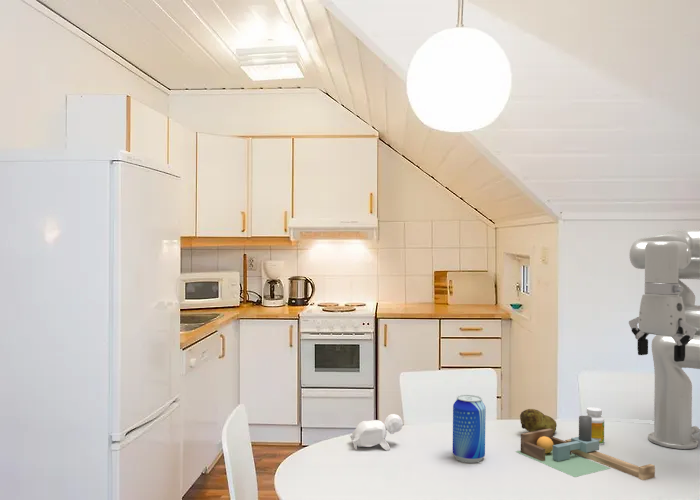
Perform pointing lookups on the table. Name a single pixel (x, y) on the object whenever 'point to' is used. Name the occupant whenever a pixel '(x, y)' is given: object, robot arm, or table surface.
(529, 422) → the potato
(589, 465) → the felt mat
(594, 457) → the rail
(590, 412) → the supplement bottle
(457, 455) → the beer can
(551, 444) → the ball
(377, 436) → the white turtle figurine
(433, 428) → the table surface
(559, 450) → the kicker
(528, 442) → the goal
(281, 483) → the table surface
